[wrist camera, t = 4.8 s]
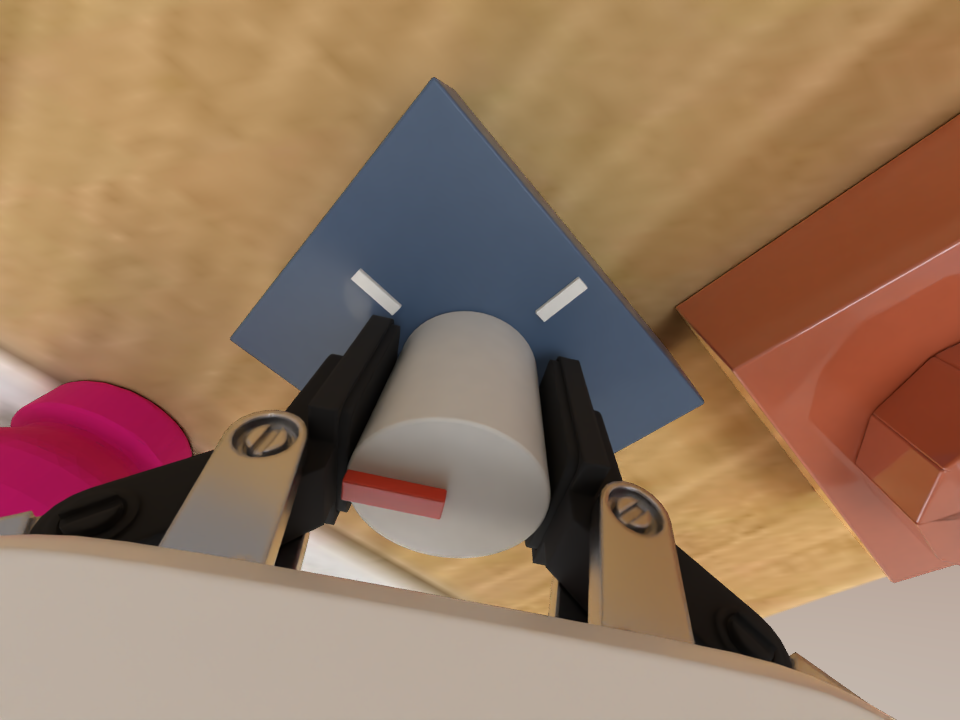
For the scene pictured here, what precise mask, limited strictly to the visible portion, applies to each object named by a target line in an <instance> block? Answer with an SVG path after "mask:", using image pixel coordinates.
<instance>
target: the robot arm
mask: <svg viewBox="0 0 960 720" xmlns="http://www.w3.org/2000/svg"><path fill="white" fill-rule="evenodd" d="M400 329H401V328H400V326H399V325H394V319H391V318H387V317H382V316H378V315H372V316H371V318H370V319H369V321H368V322H367V323H366V325H365V326H364V327H363V329H362V330H361V332H360V333H359V334H358V336H357V337H356V339H355V340H354V341H353V343H352V344H351V346H350V347H349V348H348V350H347V351H346V353H345V354H344V355H343V356H341V355H337V354H330V355H329V356H328V357H327V358H326V360H325V361H324V362H323V363H322V365H321V366H320V367H319V369H318V370H317V371H316V372H315V374H314V375H313V376H312V378H311V379H310V380H309V381H308V383H307V384H306V385H305V387H304V388H303V389H302V390H301V392H300V393H299V394H298V396H297V397H296V398H295V399H294V401H293V402H292V403H291V404H290V406H289V407H288V408H287V410H286V411H279V410H267V411H261V412H256V413H252V414H249V415H247V416H245V417H242V418H240V419H239V420H237V421H236V422H234V423H233V424H231V426H230V427H229V428H228V429H227V430H226V431H225V433H224V434H223V436H222V438H221V440H220V441H219V443H218V445H217V446H216V448H215V450H211V451H208V452H205V453H202V454H198V455H195V456H192V457H189V458H186V459H182V460H179V461H176V462H173V463H169V464H166V465H163V466H160V467H156V468H153V469H150V470H147V471H143V472H140V473H137V474H134V475H130V476H127V477H124V478H121V479H117V480H114V481H111V482H108V483H105V484H101V485H98V486H95V487H92V488H89V489H86V490H84V491H81V492H79V493H76V494H74V495H72V496H70V497H68V498H66V499H65V500H63V501H61V502H59V503H58V504H56V505H55V506H53V507H52V508H51V509H50V510H49V511H47V512H46V513H45V514H44V515H42V516H38V517H35V516H34V514H33V512H32V511H27V512H23V513H18V514H14V515H9V516H4V517H0V720H896V719H894V718H893V717H891V716H889V715H887V714H886V713H884V712H882V711H880V710H879V709H877V708H875V707H873V706H872V705H870V704H868V703H867V702H865V701H864V700H863V699H861V698H860V697H858V696H857V695H856V694H854V693H853V692H851V691H850V690H848V689H847V688H846V687H844V686H843V685H841V684H840V683H839V682H837V681H836V680H834V679H833V678H832V677H830V676H828V675H827V674H826V673H824V672H823V671H822V670H820V669H819V668H817V667H816V666H814V665H813V664H812V663H810V662H809V661H807V660H806V659H805V658H803V657H802V656H800V655H799V654H797V653H796V652H795V653H793V654H792V655H790V656H789V655H788V653H787V651H786V649H785V648H784V646H783V644H782V642H781V640H780V639H779V637H778V636H777V635H776V633H775V632H774V631H773V629H772V628H771V627H770V626H769V625H768V624H767V623H766V622H765V621H764V620H763V619H762V618H761V617H760V616H759V615H758V614H757V613H756V612H755V611H753V610H752V609H751V608H750V607H749V606H748V605H746V604H745V603H744V602H743V601H742V600H740V599H739V598H738V597H737V596H736V595H735V594H733V593H732V592H731V591H730V590H729V589H728V588H726V587H725V586H724V585H723V584H722V583H720V582H719V581H718V580H717V579H716V578H715V577H713V576H712V575H711V574H710V573H709V572H707V571H706V570H705V569H704V568H703V567H702V566H700V565H699V564H698V563H697V562H696V561H694V560H693V559H692V558H691V557H690V556H689V555H687V554H686V553H685V552H684V551H683V550H681V549H680V548H679V547H678V546H677V545H676V544H675V540H674V535H673V530H672V525H671V521H670V518H669V516H668V513H667V511H666V510H665V508H664V507H663V505H662V504H661V503H660V502H659V501H658V500H657V499H656V498H655V497H654V496H653V495H652V494H650V493H649V492H648V491H646V490H645V489H643V488H641V487H639V486H637V485H635V484H633V483H629V482H624V481H622V478H621V475H620V472H619V468H618V465H617V462H616V459H615V456H614V453H613V449H612V446H611V443H610V440H609V437H608V434H607V431H606V427H605V424H604V421H603V418H602V415H601V413H600V412H598V411H596V410H594V409H593V406H592V402H591V399H590V396H589V392H588V389H587V385H586V382H585V379H584V375H583V372H582V368H581V365H580V362H579V360H575V359H570V358H566V357H561V356H558V357H557V359H556V360H550V361H549V362H548V365H547V367H546V370H545V373H544V375H543V378H542V381H541V384H540V386H539V393H540V402H541V411H542V420H543V428H544V437H545V446H546V455H547V464H548V473H549V481H550V504H549V508H548V511H547V513H546V516H545V518H544V520H543V521H542V523H541V525H540V526H539V527H538V528H537V530H536V531H535V532H534V533H533V534H532V535H531V536H529V537H528V538H527V539H526V540H525V544H526V547H529V548H532V556H533V563H536V564H541V565H546V568H547V569H548V570H549V571H550V572H551V573H552V575H553V579H552V585H551V594H550V604H549V613H548V616H546V615H541V614H535V613H530V612H525V611H519V610H514V609H508V608H503V607H498V606H492V605H487V604H481V603H476V602H470V601H465V600H460V599H454V598H449V597H443V596H438V595H432V594H427V593H421V592H416V591H410V590H405V589H399V588H394V587H389V586H383V585H378V584H372V583H367V582H361V581H355V580H350V579H344V578H339V577H333V576H327V575H322V574H316V573H311V572H305V571H300V570H301V566H302V562H303V558H304V555H305V551H306V547H307V543H308V539H309V532H310V531H312V530H314V529H316V528H318V527H320V526H322V525H324V523H326V524H332V525H334V524H335V521H336V519H337V517H338V514H339V512H340V511H343V512H348V510H349V508H350V506H351V504H352V503H351V502H350V501H345V500H342V499H341V492H342V480H343V478H344V476H345V473H346V471H347V467H348V463H349V461H350V458H351V456H352V454H353V452H354V449H355V447H356V445H357V443H358V441H359V439H360V437H361V435H362V433H363V431H364V428H365V426H366V424H367V422H368V420H369V418H370V416H371V414H372V412H373V410H374V407H375V405H376V403H377V401H378V399H379V397H380V395H381V393H382V391H383V389H384V386H385V384H386V382H387V380H388V378H389V376H390V374H391V372H392V370H393V368H394V365H395V363H396V361H397V355H398V346H399V338H400Z"/></svg>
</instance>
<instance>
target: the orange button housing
mask: <svg viewBox="0 0 960 720" xmlns="http://www.w3.org/2000/svg"><path fill="white" fill-rule="evenodd" d="M676 310H677V312H678V313H679V314H680V316H681V317H682V318H683V319H684V321H685V322H686V323H687V325H688V326H689V327H690V328H691V330H692V331H693V332H694V334H695V335H696V336H697V338H698V339H699V340H700V341H701V343H702V344H703V345H704V347H705V348H706V349H707V351H708V352H709V353H710V354H711V356H712V357H713V358H714V360H715V361H716V362H717V364H718V365H719V366H720V367H721V369H722V370H723V371H724V373H725V374H726V375H727V377H728V378H729V379H730V380H731V382H732V383H733V384H734V386H735V387H736V388H737V390H738V391H739V392H740V393H741V395H742V396H743V397H744V399H745V400H746V401H747V403H748V404H749V405H750V406H751V408H752V409H753V410H754V412H755V413H756V414H757V416H758V417H759V418H760V419H761V421H762V422H763V423H764V425H765V426H766V427H767V429H768V430H769V431H770V432H771V434H772V435H773V436H774V438H775V439H776V440H777V442H778V443H779V444H780V445H781V447H782V448H783V449H784V451H785V452H786V453H787V455H788V456H789V457H790V458H791V460H792V461H793V462H794V464H795V465H796V466H797V468H798V469H799V470H800V471H801V473H802V474H803V475H804V477H805V478H806V479H807V481H808V482H809V483H810V484H811V486H812V487H813V488H814V490H815V491H816V492H817V494H818V495H819V496H820V497H821V498H822V500H823V501H824V502H825V503H826V504H827V505H828V507H829V508H830V509H831V510H832V511H833V513H834V514H835V515H836V516H837V517H838V519H839V520H840V521H841V522H842V523H843V525H844V526H845V527H846V528H847V529H848V531H849V532H850V533H851V534H852V535H853V537H854V538H855V539H856V540H857V541H858V543H859V544H860V545H861V546H862V547H863V549H864V550H865V551H866V552H867V553H868V555H869V556H870V557H871V558H872V559H873V561H874V562H875V563H876V564H877V565H878V566H879V568H880V569H881V570H882V571H883V572H884V574H885V575H886V576H887V577H888V578H889V580H890V581H891V582H893V583H896V582H899V581H902V580H906V579H909V578H912V577H916V576H919V575H922V574H926V573H929V572H932V571H935V570H939V569H943V568H946V567H949V566H952V565H960V114H959V115H958V116H956V117H955V118H953V119H952V120H950V121H949V122H947V123H946V124H944V125H943V126H942V127H940V128H939V129H937V130H936V131H934V132H933V133H931V134H930V135H928V136H927V137H925V138H924V139H922V140H921V141H919V142H918V143H917V144H915V145H914V146H912V147H911V148H909V149H908V150H906V151H905V152H903V153H902V154H900V155H899V156H897V157H896V158H894V159H893V160H892V161H890V162H889V163H887V164H886V165H884V166H883V167H881V168H880V169H878V170H877V171H875V172H874V173H872V174H871V175H869V176H868V177H867V178H865V179H864V180H862V181H861V182H859V183H858V184H856V185H855V186H853V187H852V188H850V189H849V190H847V191H846V192H844V193H843V194H842V195H840V196H839V197H837V198H836V199H834V200H833V201H831V202H830V203H828V204H827V205H825V206H824V207H822V208H821V209H819V210H818V211H816V212H815V213H814V214H812V215H811V216H809V217H808V218H806V219H805V220H803V221H802V222H800V223H799V224H797V225H796V226H794V227H793V228H791V229H790V230H789V231H787V232H786V233H784V234H783V235H781V236H780V237H778V238H777V239H775V240H774V241H772V242H771V243H769V244H768V245H766V246H765V247H764V248H762V249H761V250H759V251H758V252H756V253H755V254H753V255H752V256H750V257H749V258H747V259H746V260H744V261H743V262H741V263H740V264H739V265H737V266H736V267H734V268H733V269H731V270H730V271H728V272H727V273H725V274H724V275H722V276H721V277H719V278H718V279H716V280H715V281H714V282H712V283H711V284H709V285H708V286H706V287H705V288H703V289H702V290H700V291H699V292H697V293H696V294H694V295H693V296H691V297H690V298H689V299H687V300H686V301H684V302H683V303H681V304H680V305H678V306H677V307H676Z"/></svg>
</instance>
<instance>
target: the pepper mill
mask: <svg viewBox="0 0 960 720" xmlns="http://www.w3.org/2000/svg"><path fill="white" fill-rule="evenodd" d="M189 457H192V452H191V448H190V445H189V442H188V439H187V438H186V436H185V434H184V433H183V431H182V430H181V428H180V427H179V426H178V425H177V424H176V423H175V422H174V421H173V419H172V418H171V417H169V416H168V415H167V414H166V413H165V412H164V411H163V410H161V409H160V408H159V407H157V406H156V405H155V404H153V403H152V402H150V401H149V400H147V399H145V398H143V397H141V396H140V395H138V394H136V393H134V392H132V391H129V390H126V389H123V388H120V387H117V386H114V385H111V384H108V383H103V382H93V381H77V382H70V383H66V384H63V385H61V386H59V387H57V388H55V389H54V390H52V391H50V392H48V393H47V394H45V395H43V396H41V397H40V398H38V399H36V400H35V401H33V402H31V403H29V404H28V405H26V406H24V407H22V408H21V409H20V410H19V411H17V413H16V414H15V415H14V417H13V418H12V421H11V427H0V517H4V516H9V515H14V514H18V513H23V512H27V511H32V512H33V514H34V516H35V517H38V516H42V515H44V514H45V513H46V512H47V511H49V510H50V509H51V508H52V507H53V506H55V505H56V504H58V503H59V502H61V501H63V500H65V499H66V498H68V497H70V496H72V495H74V494H76V493H79V492H81V491H84V490H86V489H89V488H92V487H95V486H98V485H101V484H105V483H108V482H111V481H114V480H117V479H121V478H124V477H127V476H130V475H134V474H137V473H140V472H143V471H147V470H150V469H153V468H156V467H160V466H163V465H166V464H169V463H173V462H176V461H179V460H182V459H186V458H189Z"/></svg>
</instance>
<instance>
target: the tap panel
mask: <svg viewBox="0 0 960 720" xmlns="http://www.w3.org/2000/svg"><path fill="white" fill-rule="evenodd" d="M457 311H473V312H479V313H484V314H487V315H491V316H494V317H496V318H498V319H500V320H502V321H504V322H506V323H507V324H509V325H510V326H512V327H513V328H514V329H515V330H517V331H518V332H519V333H520V334H521V335H522V336H523V337H524V339H525V340H526V342H527V343H528V344H529V346H530V348H531V350H532V352H533V355H534V358H535V361H536V367H537V375H538V384H539V386H540V384H541V381H542V378H543V375H544V373H545V370H546V367H547V365H548V362H549V361H550V360H556V359H557V357H558V356H561V357H566V358H570V359H575V360H579V362H580V365H581V368H582V372H583V375H584V379H585V382H586V385H587V389H588V392H589V396H590V399H591V402H592V406H593V409H594V410H596V411H598V412H600V413H601V415H602V418H603V421H604V424H605V427H606V431H607V434H608V437H609V440H610V443H611V446H612V449H613V453H616V452H618V451H620V450H621V449H623V448H625V447H627V446H629V445H630V444H632V443H634V442H636V441H638V440H639V439H641V438H643V437H645V436H647V435H648V434H650V433H652V432H654V431H656V430H657V429H659V428H661V427H663V426H665V425H666V424H668V423H670V422H672V421H674V420H675V419H677V418H679V417H681V416H683V415H684V414H686V413H688V412H690V411H692V410H694V409H695V408H697V407H699V406H701V405H703V404H704V400H703V398H702V397H701V396H700V394H699V393H698V391H697V390H696V389H695V387H694V386H693V384H692V383H691V381H690V380H689V379H688V377H687V376H686V374H685V373H684V372H683V370H682V369H681V367H680V366H679V364H678V363H677V362H676V360H675V359H674V357H673V356H672V355H671V353H670V352H669V351H668V349H667V348H666V347H665V346H664V345H663V343H662V342H661V341H660V340H659V338H658V337H657V336H656V335H655V334H654V332H653V331H652V330H651V329H650V328H649V326H648V325H647V324H646V323H645V321H644V320H643V319H642V318H641V317H640V315H639V314H638V313H637V312H636V310H635V309H634V308H633V307H632V306H631V304H630V303H629V302H628V301H627V300H626V298H625V297H624V296H623V295H622V293H621V292H620V291H619V290H618V289H617V287H616V286H615V285H614V284H613V282H612V281H611V280H610V279H609V278H608V276H607V275H606V274H605V273H604V272H603V270H602V269H601V268H600V267H599V265H598V264H597V263H596V262H595V261H594V259H593V258H592V257H591V256H590V254H589V253H588V252H587V251H586V250H585V248H584V247H583V246H582V245H581V244H580V242H579V241H578V240H577V239H576V237H575V236H574V235H573V234H572V233H571V231H570V230H569V229H568V228H567V226H566V225H565V224H564V223H563V222H562V220H561V219H560V218H559V217H558V216H557V214H556V213H555V212H554V211H553V209H552V208H551V207H550V206H549V205H548V203H547V202H546V201H545V200H544V198H543V197H542V196H541V195H540V194H539V192H538V191H537V190H536V189H535V188H534V186H533V185H532V184H531V183H530V181H529V180H528V179H527V178H526V177H525V175H524V174H523V173H522V172H521V170H520V169H519V168H518V167H517V166H516V164H515V163H514V162H513V161H512V160H511V158H510V157H509V156H508V155H507V153H506V152H505V151H504V150H503V149H502V147H501V146H500V145H499V144H498V143H497V141H496V140H495V139H494V138H493V136H492V135H491V134H490V133H489V132H488V130H487V129H486V128H485V127H484V125H483V124H482V123H481V122H480V121H479V119H478V118H477V117H476V116H475V115H474V113H473V112H472V111H471V110H470V108H469V107H468V106H467V105H466V104H465V102H464V101H463V100H462V99H461V97H460V96H459V95H458V94H457V93H456V91H455V90H454V89H452V88H451V87H449V86H448V85H446V84H445V83H443V82H441V81H440V80H438V79H437V78H435V77H433V78H431V80H430V81H429V82H428V84H427V85H426V86H425V87H424V89H423V90H422V91H421V93H420V94H419V95H418V96H417V98H416V99H415V100H414V102H413V103H412V104H411V105H410V107H409V108H408V109H407V111H406V112H405V113H404V115H403V116H402V117H401V118H400V120H399V121H398V122H397V124H396V125H395V126H394V127H393V129H392V130H391V131H390V133H389V134H388V135H387V136H386V138H385V139H384V140H383V142H382V143H381V144H380V145H379V147H378V148H377V149H376V151H375V152H374V153H373V154H372V156H371V157H370V158H369V160H368V161H367V162H366V163H365V165H364V166H363V167H362V169H361V170H360V171H359V172H358V174H357V175H356V176H355V178H354V179H353V180H352V181H351V183H350V184H349V185H348V187H347V188H346V189H345V190H344V192H343V193H342V194H341V196H340V197H339V198H338V199H337V201H336V202H335V203H334V205H333V206H332V207H331V208H330V210H329V211H328V212H327V214H326V215H325V216H324V217H323V219H322V220H321V221H320V223H319V224H318V225H317V227H316V228H315V229H314V230H313V232H312V233H311V234H310V236H309V237H308V238H307V239H306V241H305V242H304V243H303V245H302V246H301V247H300V248H299V250H298V251H297V252H296V254H295V255H294V256H293V257H292V259H291V260H290V261H289V263H288V264H287V265H286V266H285V268H284V269H283V270H282V272H281V273H280V274H279V275H278V277H277V278H276V279H275V281H274V282H273V283H272V284H271V286H270V287H269V288H268V290H267V291H266V292H265V293H264V295H263V296H262V297H261V299H260V300H259V301H258V302H257V304H256V305H255V306H254V308H253V309H252V310H251V311H250V313H249V314H248V315H247V317H246V318H245V319H244V320H243V322H242V323H241V324H240V326H239V327H238V328H237V329H236V331H235V332H234V333H233V335H232V336H231V338H230V340H231V341H232V342H234V343H235V344H237V345H238V346H239V347H241V348H242V349H243V350H245V351H246V352H248V353H249V354H250V355H252V356H253V357H255V358H256V359H257V360H259V361H260V362H261V363H263V364H264V365H266V366H267V367H268V368H270V369H271V370H273V371H274V372H275V373H277V374H278V375H279V376H281V377H282V378H284V379H285V380H286V381H288V382H289V383H291V384H292V385H293V386H295V387H296V388H297V389H299V390H300V391H301V390H302V389H303V388H304V387H305V385H306V384H307V383H308V381H309V380H310V379H311V378H312V376H313V375H314V374H315V372H316V371H317V370H318V369H319V367H320V366H321V365H322V363H323V362H324V361H325V360H326V358H327V357H328V356H329V355H330V354H337V355H341V356H343V355H344V354H345V353H346V351H347V350H348V348H349V347H350V346H351V344H352V343H353V341H354V340H355V339H356V337H357V336H358V334H359V333H360V332H361V330H362V329H363V327H364V326H365V325H366V323H367V322H368V321H369V319H370V318H371V316H372V315H378V316H382V317H387V318H391V319H394V325H399V326H400V328H401V329H400V338H399V346H398V355H397V359H398V357H399V355H400V353H401V351H402V349H403V347H404V344H405V343H406V341H407V339H408V338H409V336H410V335H411V334H412V333H413V331H414V330H416V329H417V328H418V327H419V326H420V325H421V324H423V323H424V322H426V321H427V320H429V319H432V318H434V317H436V316H439V315H442V314H445V313H450V312H457Z"/></svg>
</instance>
